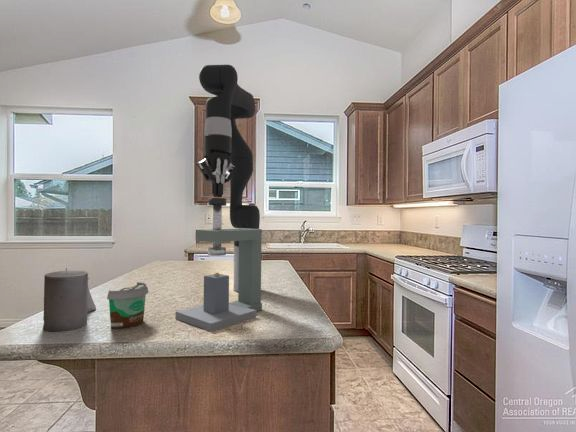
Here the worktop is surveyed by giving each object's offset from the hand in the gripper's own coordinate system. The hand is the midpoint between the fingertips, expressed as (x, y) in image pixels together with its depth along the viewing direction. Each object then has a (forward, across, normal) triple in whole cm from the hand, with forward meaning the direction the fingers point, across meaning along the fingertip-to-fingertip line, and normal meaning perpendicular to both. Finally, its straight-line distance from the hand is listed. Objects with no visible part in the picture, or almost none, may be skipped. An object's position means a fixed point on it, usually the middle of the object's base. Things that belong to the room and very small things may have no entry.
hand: (217, 196), depth 96 cm
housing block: (+32, 0, 0) cm, 32 cm away
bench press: (+34, -3, 0) cm, 35 cm away
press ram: (+16, 0, 0) cm, 16 cm away
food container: (+35, +18, -12) cm, 41 cm away
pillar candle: (+35, +30, -24) cm, 52 cm away
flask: (+35, +22, -36) cm, 55 cm away
